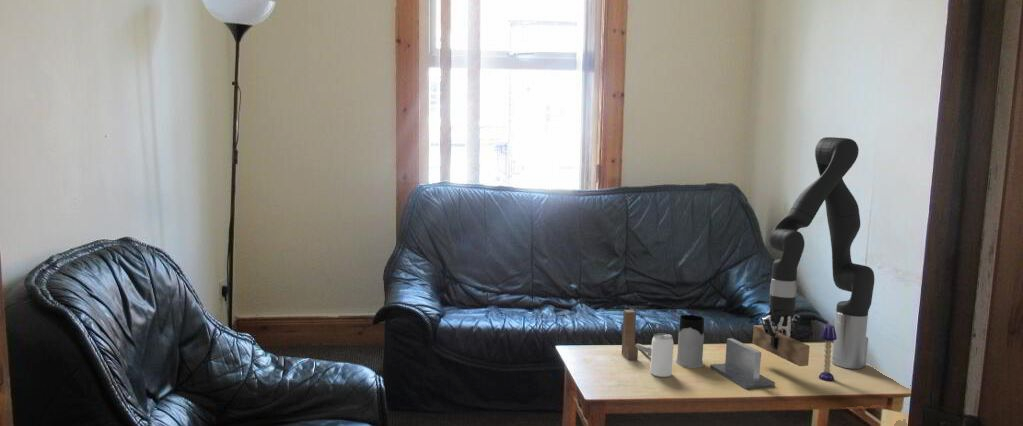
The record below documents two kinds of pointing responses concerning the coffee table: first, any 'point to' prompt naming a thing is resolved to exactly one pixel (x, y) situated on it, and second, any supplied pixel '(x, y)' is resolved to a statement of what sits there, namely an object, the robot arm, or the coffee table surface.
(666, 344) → the can
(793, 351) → the brown wooden plank
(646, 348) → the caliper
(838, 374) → the coffee table surface
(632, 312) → the wooden block
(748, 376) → the ridge stand
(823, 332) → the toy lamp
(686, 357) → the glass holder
